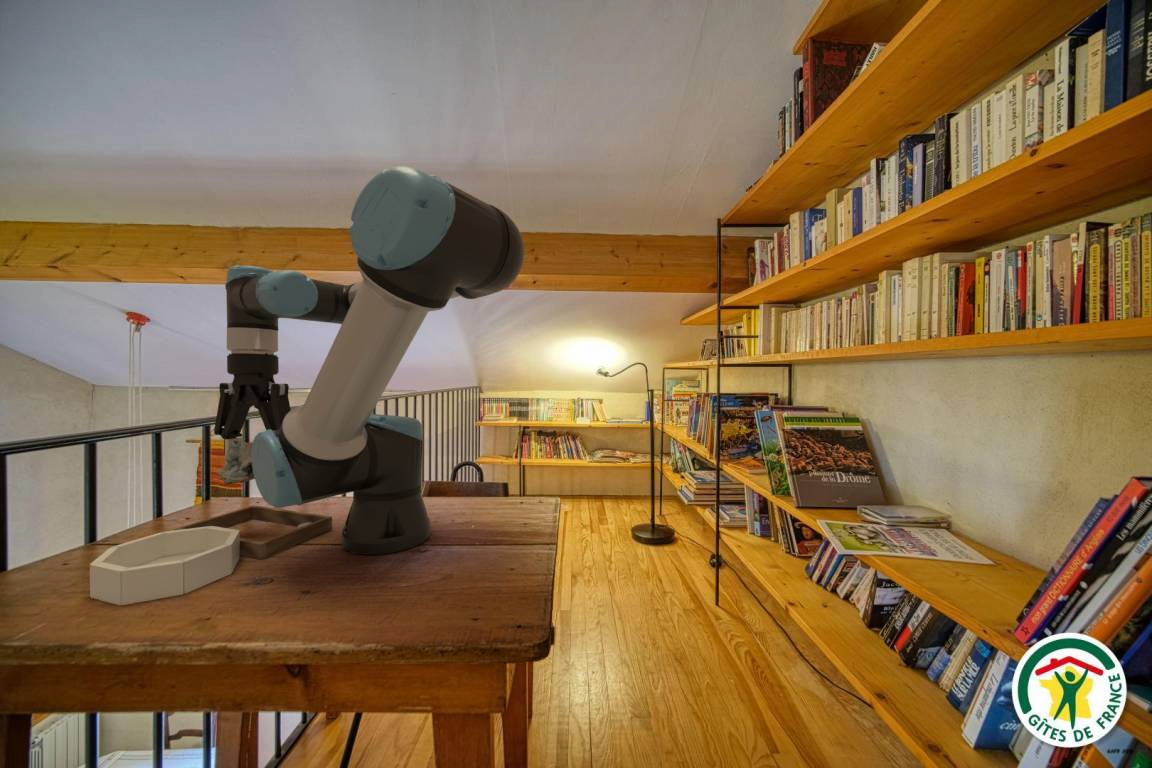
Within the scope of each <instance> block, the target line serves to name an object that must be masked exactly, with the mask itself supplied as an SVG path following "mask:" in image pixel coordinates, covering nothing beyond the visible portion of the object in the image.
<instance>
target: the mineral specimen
mask: <svg viewBox="0 0 1152 768" xmlns="http://www.w3.org/2000/svg"><path fill="white" fill-rule="evenodd" d="M252 443H253V442H246V441H244V440H243V441H241V440H234V441H233V442H231V443H230V448H229V449H228V451H227V455H226V457H225V456H224V463H225V462H227V464H226V466H225V465H224V466H223V467H221V468H219V469H218V470H217V476H218V481H222V482H223V484H224V485H226V486H230V485H235V484H243V483H246V482H249V481H252V480H255V478H254V474H253V468H252V459H251V450H252ZM225 460H226V461H225Z"/></svg>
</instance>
